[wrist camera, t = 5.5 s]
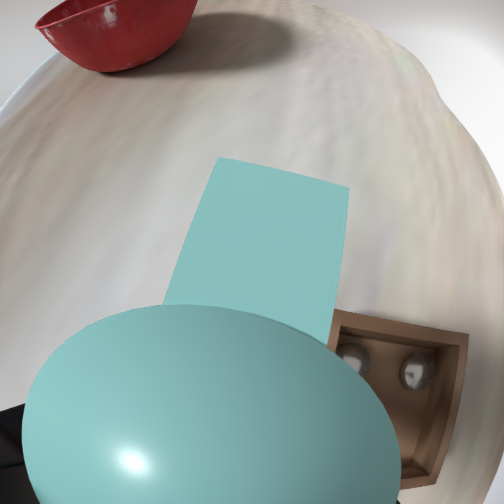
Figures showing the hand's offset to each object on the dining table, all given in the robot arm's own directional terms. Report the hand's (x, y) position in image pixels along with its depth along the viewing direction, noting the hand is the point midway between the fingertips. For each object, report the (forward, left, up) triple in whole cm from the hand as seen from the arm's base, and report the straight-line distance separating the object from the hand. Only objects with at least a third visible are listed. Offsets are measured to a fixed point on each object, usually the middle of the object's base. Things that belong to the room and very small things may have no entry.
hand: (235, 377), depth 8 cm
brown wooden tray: (-7, -9, -13) cm, 18 cm away
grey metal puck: (-2, -8, -12) cm, 15 cm away
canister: (-1, +1, -6) cm, 6 cm away
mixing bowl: (+51, +6, -14) cm, 53 cm away
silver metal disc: (-6, -13, -12) cm, 19 cm away
